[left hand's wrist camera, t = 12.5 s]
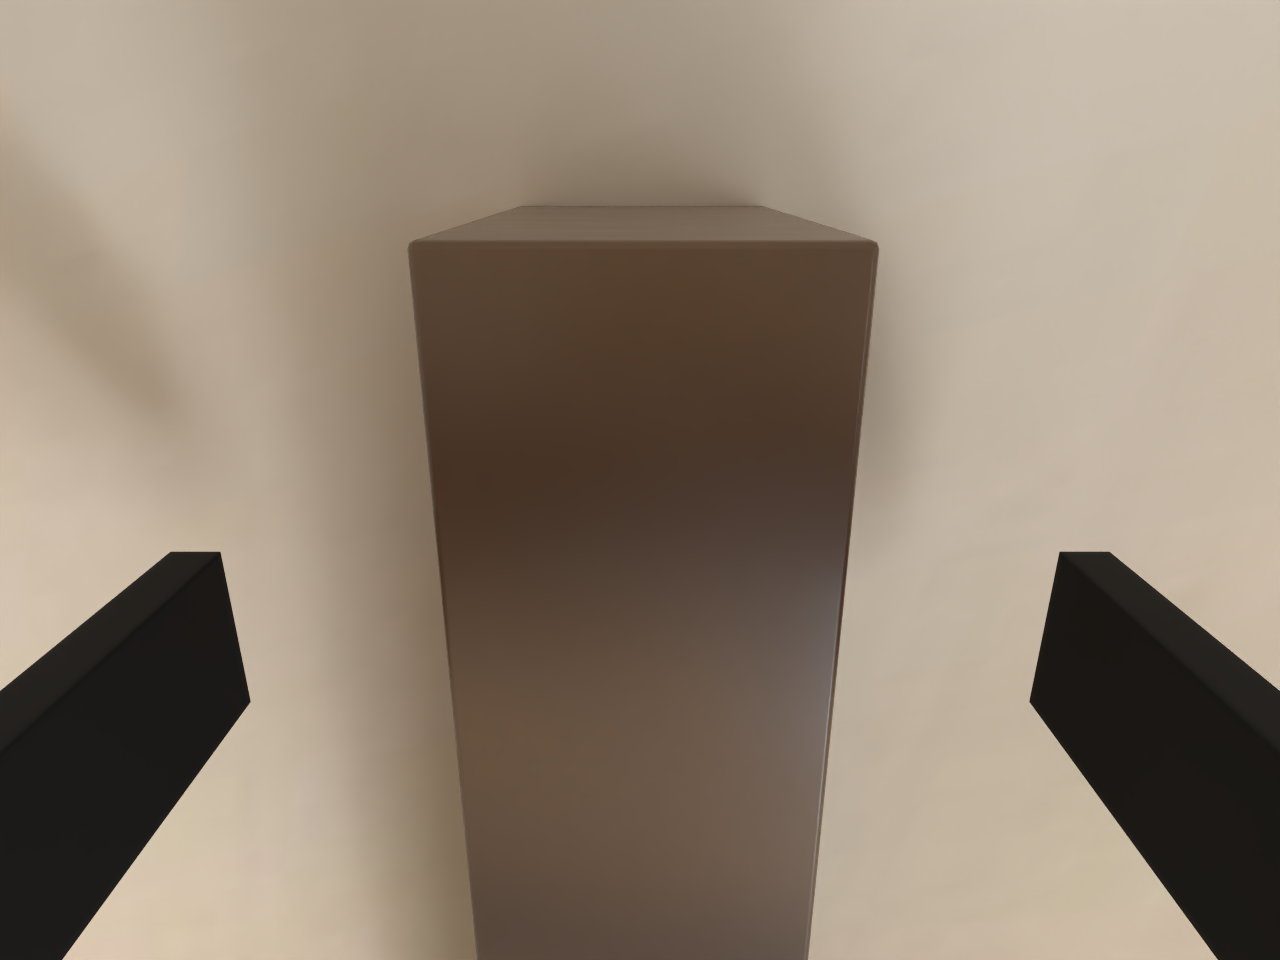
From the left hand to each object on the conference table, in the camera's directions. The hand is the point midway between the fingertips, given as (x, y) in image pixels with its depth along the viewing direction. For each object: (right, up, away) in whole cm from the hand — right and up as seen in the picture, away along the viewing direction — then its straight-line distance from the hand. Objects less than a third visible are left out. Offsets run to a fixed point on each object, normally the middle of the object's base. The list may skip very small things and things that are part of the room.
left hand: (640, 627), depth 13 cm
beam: (0, -25, +14) cm, 29 cm away
